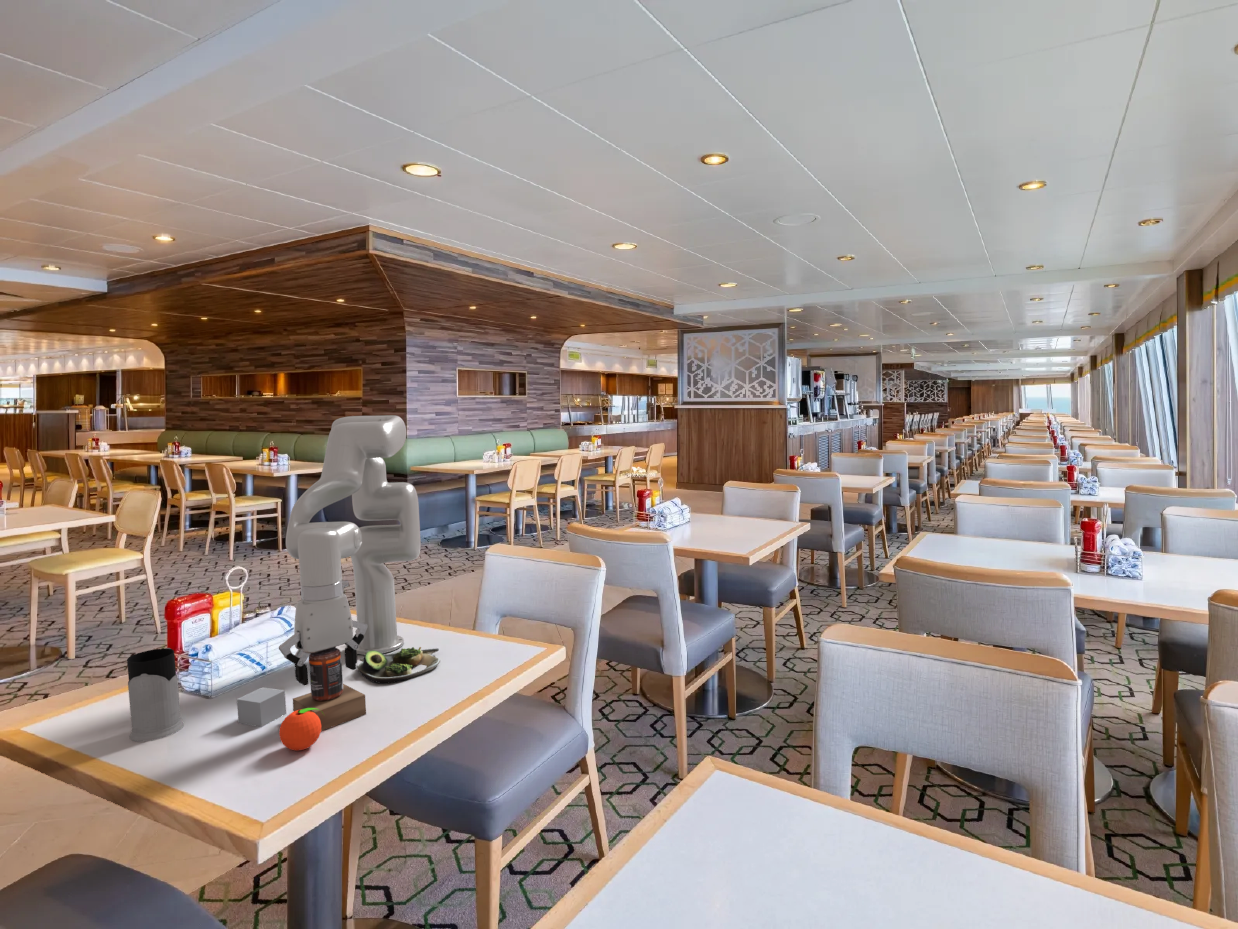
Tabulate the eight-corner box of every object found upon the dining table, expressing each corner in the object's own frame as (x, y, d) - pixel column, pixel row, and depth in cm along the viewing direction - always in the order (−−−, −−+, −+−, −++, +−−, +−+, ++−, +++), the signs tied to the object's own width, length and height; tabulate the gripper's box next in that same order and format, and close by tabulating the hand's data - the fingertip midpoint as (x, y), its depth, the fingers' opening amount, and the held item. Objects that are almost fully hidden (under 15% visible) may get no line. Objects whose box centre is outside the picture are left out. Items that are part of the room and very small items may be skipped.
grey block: (238, 723, 134) (236, 699, 133) (263, 710, 139) (262, 687, 139) (261, 727, 132) (259, 702, 131) (286, 714, 137) (284, 690, 137)
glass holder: (121, 744, 126) (114, 666, 125) (151, 712, 140) (145, 641, 139) (174, 737, 129) (168, 660, 127) (199, 706, 142) (193, 636, 141)
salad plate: (423, 648, 175) (422, 630, 175) (459, 665, 162) (458, 646, 162) (348, 669, 162) (347, 650, 161) (381, 690, 149) (380, 670, 148)
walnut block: (293, 718, 135) (292, 698, 135) (342, 701, 143) (341, 682, 142) (316, 732, 129) (315, 712, 128) (366, 714, 136) (365, 694, 136)
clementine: (316, 733, 129) (314, 696, 128) (335, 743, 124) (333, 706, 124) (273, 750, 122) (270, 712, 122) (291, 762, 118) (289, 722, 117)
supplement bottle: (349, 689, 138) (346, 635, 138) (334, 702, 133) (330, 646, 132) (321, 689, 139) (318, 635, 138) (305, 701, 133) (301, 645, 132)
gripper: (354, 579, 143) (359, 659, 144) (268, 598, 130) (274, 685, 131) (372, 585, 138) (377, 667, 139) (285, 604, 125) (291, 695, 126)
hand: (327, 675), depth 135 cm, fingers open, 9 cm apart
